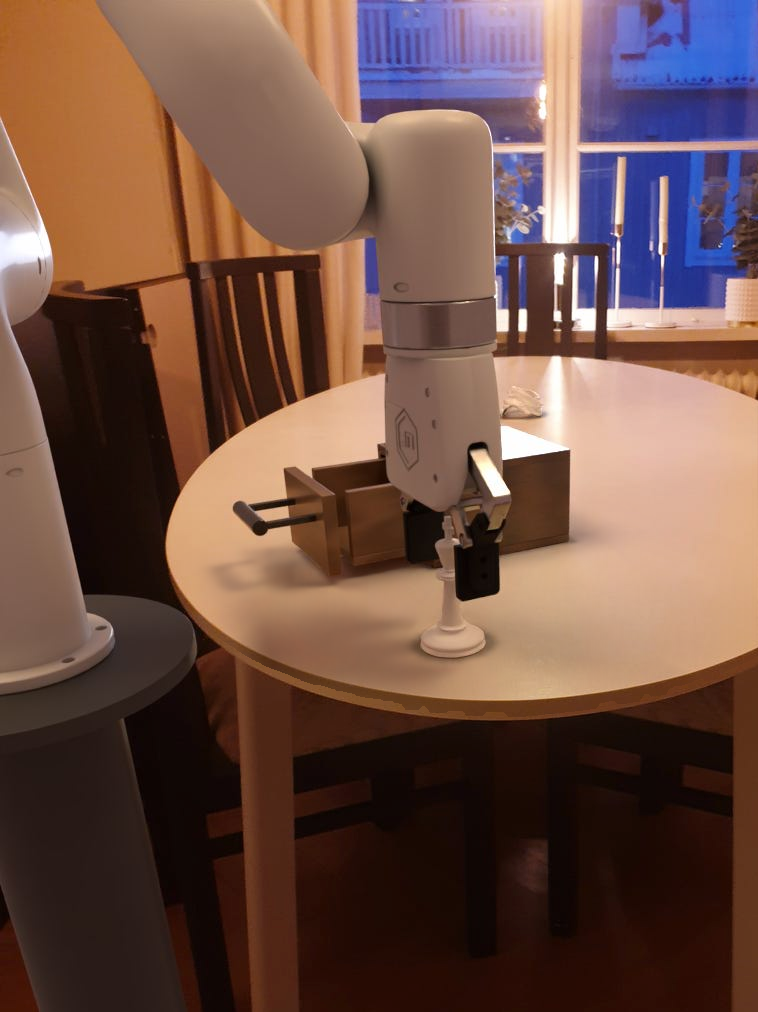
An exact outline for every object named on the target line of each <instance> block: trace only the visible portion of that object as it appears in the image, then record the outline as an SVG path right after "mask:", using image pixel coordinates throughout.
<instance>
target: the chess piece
mask: <svg viewBox="0 0 758 1012" xmlns="http://www.w3.org/2000/svg"><path fill="white" fill-rule="evenodd" d="M442 528H443V529H444V531H445V538H444V539H441V540H439V541H437V542H436V544H435V547H436V550H437V553H438V555H439V557H440V561H441V563H442V565H443V566H442V567H441V568H440V569H438V570H437V571H436V574H435V578H436V579H437V580H440V581H443V592H442V593H443V595H442V606H441V615H440V616H441V617H440V620H439V621H437V623H436V624H435V625H432V626H430V627H428V628H426V629H425V630H424V631H423V632H422V634H421V636H420V649H422V651H423V652H424V653H426V654H429V655H430V656H434V657H438V658H445V659H446V658H447V659H448V658H449V659H452V658H453V659H454V658H455V659H456V658H462V657H469V656H471V655H474V654H476V653H478V652H480V651H481V650H482V649H483V648H484V647H485V646H486V639H485V633H484V631H483V630H482V629H481V628H480V627H478V626H476V625H474V624H472V623H469V622H468V621H467V620H466V619H464V616H463V611H462V607H461V601H460V600H459V599H458V598H457V597H456V590H455V568H454V545H458V544H460V543H459V540H458V539H455V538H452V535H453V534H454V528H453V527H452V519H451V516H444V522H442Z"/></svg>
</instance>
